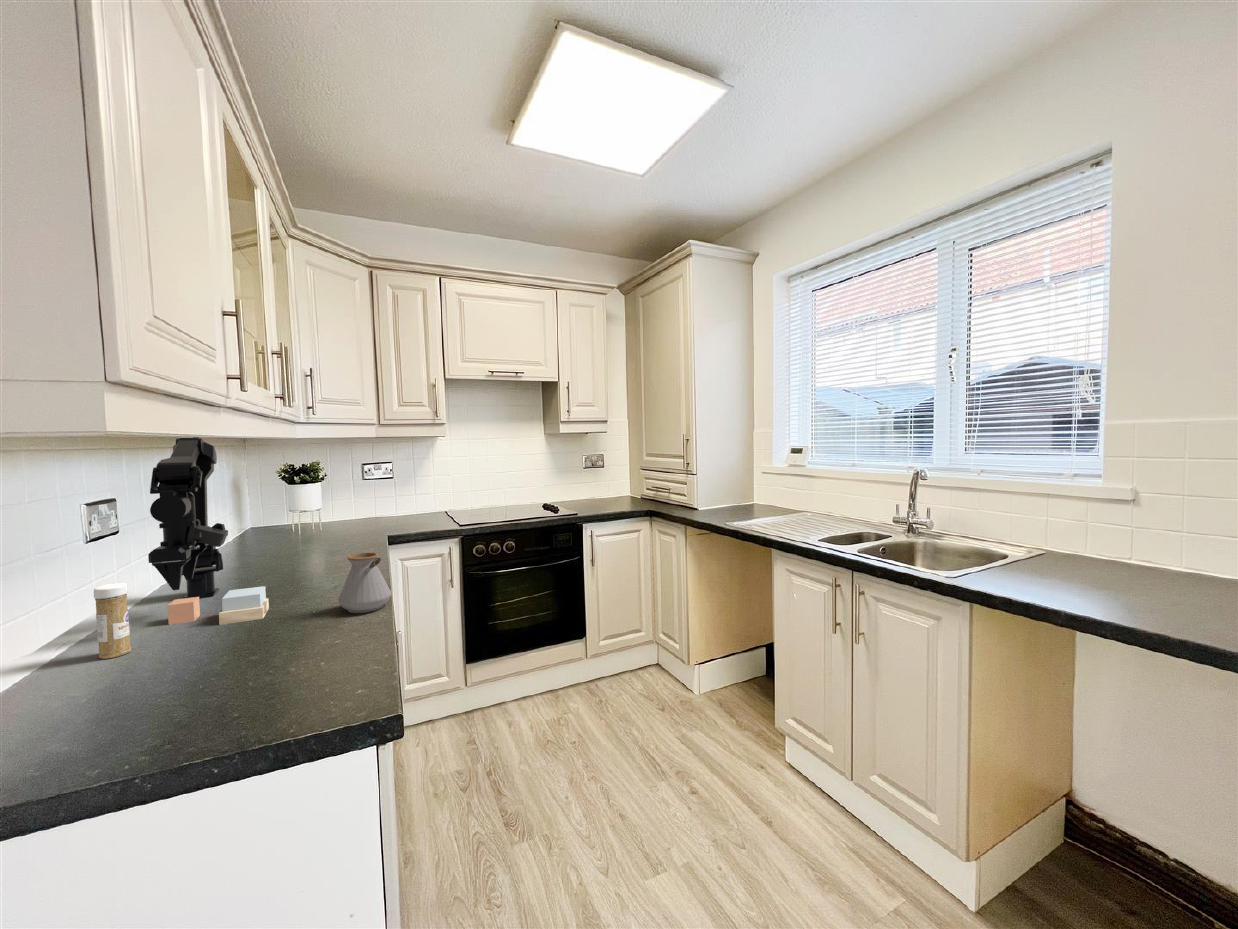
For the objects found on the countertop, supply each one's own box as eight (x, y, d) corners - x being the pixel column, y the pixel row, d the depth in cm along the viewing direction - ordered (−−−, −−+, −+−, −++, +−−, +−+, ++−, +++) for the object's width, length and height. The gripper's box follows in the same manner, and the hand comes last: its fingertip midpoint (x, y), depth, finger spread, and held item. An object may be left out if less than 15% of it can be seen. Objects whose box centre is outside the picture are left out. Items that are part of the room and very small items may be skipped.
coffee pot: (334, 607, 123) (332, 546, 122) (384, 597, 130) (383, 540, 129) (352, 632, 106) (350, 562, 105) (409, 620, 113) (407, 554, 112)
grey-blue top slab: (230, 602, 119) (229, 590, 118) (265, 598, 122) (265, 586, 122) (222, 612, 112) (221, 598, 112) (260, 606, 116) (259, 594, 115)
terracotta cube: (175, 618, 116) (174, 599, 116) (200, 615, 118) (199, 596, 118) (168, 625, 112) (167, 605, 112) (194, 621, 114) (193, 602, 114)
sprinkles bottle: (131, 654, 96) (127, 585, 96) (97, 662, 93) (92, 590, 92) (131, 647, 100) (127, 580, 99) (98, 654, 96) (94, 585, 96)
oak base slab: (228, 615, 119) (227, 603, 119) (268, 610, 122) (268, 598, 122) (219, 626, 112) (218, 613, 111) (263, 620, 115) (262, 607, 115)
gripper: (212, 519, 109) (216, 590, 110) (232, 509, 126) (235, 570, 127) (145, 524, 104) (149, 598, 105) (175, 512, 121) (179, 576, 122)
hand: (182, 584), depth 115 cm, fingers open, 9 cm apart
